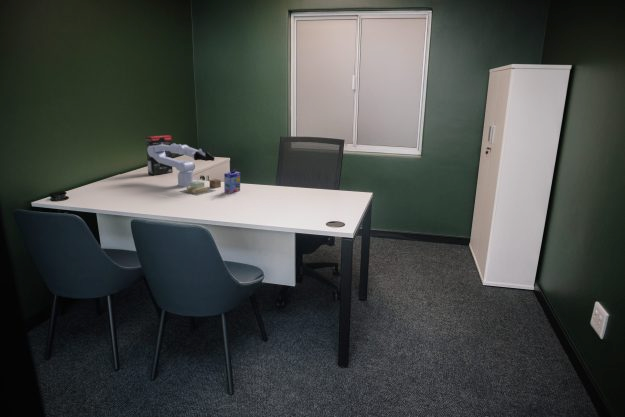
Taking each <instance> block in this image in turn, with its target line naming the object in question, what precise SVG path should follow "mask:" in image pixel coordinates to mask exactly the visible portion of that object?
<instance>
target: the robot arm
mask: <svg viewBox="0 0 625 417" xmlns="http://www.w3.org/2000/svg"><path fill="white" fill-rule="evenodd" d="M165 150H166V151H170V152H171V153H172V154H178V155H180V156H181V155H184V156H187V157H190V158H193V160H194V161H205V162H208V161H209V162H210V161H212V162H214V161H215V157H214V156H213V155H212V154H211V153H210V152H209V151H206V152H204V151H203V149H202V148H199V149H196V148H194V147H191V146H189V145H188V144H186V143H185V144H181V143H179V144H176V143H174V142H173V143H171V145H170V146H169V145H163V144H162V145H155V146H149V147H148V148H147V147H146V152H147V151H148V154H149V156H150V157H153V158H154V159H155V160H156V161H157V162H159V163H162V164H165V165H169V166H172V168H175V169H176V171H178V174H177V186H180V187H184V188H187V187H190V182H194V175H193V173H194V170H195V169H196V165H195V162H194V161H193V160H189V161H188V160H187V161H186V160H179V159H176V158H173V157H172V158H169V157H166V154H165Z"/></svg>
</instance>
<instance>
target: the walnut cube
mask: <svg viewBox="0 0 625 417" xmlns="http://www.w3.org/2000/svg"><path fill="white" fill-rule="evenodd" d="M221 181H222V180H221V179H219V178H218V179H217V178H212V179H209V188H213V189H217V188H221V187H222V182H221Z"/></svg>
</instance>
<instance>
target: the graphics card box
mask: <svg viewBox="0 0 625 417" xmlns="http://www.w3.org/2000/svg"><path fill="white" fill-rule="evenodd" d="M145 138H146V139H145V140H146V149H147V148H148V147H149V146H155V145H162V144H163V145H169V146H170V145H171V144H172V135H167V134H166V135H155V136H153V135H152V136H146V137H145ZM165 154H166V157H169V158H173V153H171V152H170V151H166V150H165ZM146 156H147V157H146V158H147V160H146V162H147V174H148V175H151V176H157V175H163V174H172V173H173V171H174V170H173V167H172V166H169V165H165V164H162V163H159V162H157V161H156V160H155V159H154V158H153V157H150V156H149V154H148V151H147V150H146Z"/></svg>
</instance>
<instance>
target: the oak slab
mask: <svg viewBox="0 0 625 417" xmlns="http://www.w3.org/2000/svg"><path fill="white" fill-rule="evenodd" d="M208 189H209V187H208V186H206V185H204V187H202V188H198V189H196V188H191V187H186V190H187V191H188V192H192V193H201V192H205V191H208Z"/></svg>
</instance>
